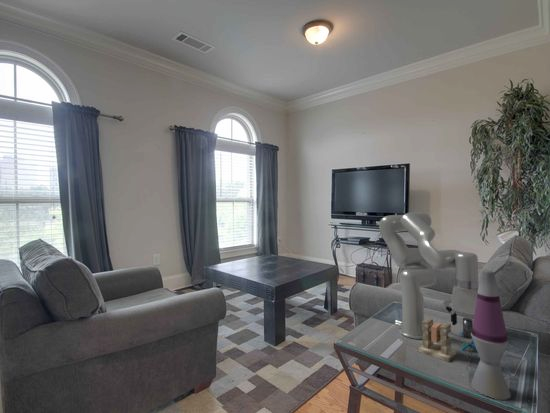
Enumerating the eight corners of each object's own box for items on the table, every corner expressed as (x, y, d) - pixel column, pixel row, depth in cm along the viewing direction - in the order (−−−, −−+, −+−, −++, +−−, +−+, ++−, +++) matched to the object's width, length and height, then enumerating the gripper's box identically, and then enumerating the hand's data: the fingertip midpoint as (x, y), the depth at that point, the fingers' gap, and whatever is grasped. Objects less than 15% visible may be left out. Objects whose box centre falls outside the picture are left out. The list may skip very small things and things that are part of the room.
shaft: (421, 331, 126) (421, 309, 126) (424, 328, 128) (424, 307, 128) (471, 345, 112) (471, 321, 112) (474, 343, 114) (473, 319, 114)
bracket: (417, 351, 124) (416, 322, 124) (426, 343, 131) (426, 315, 131) (448, 362, 115) (447, 330, 115) (457, 353, 122) (456, 323, 122)
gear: (486, 355, 117) (464, 333, 121) (474, 363, 118) (453, 342, 122) (481, 346, 127) (461, 327, 131) (470, 355, 128) (450, 335, 132)
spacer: (431, 341, 122) (431, 326, 122) (437, 336, 126) (436, 322, 126) (436, 343, 120) (436, 327, 120) (442, 338, 124) (441, 323, 124)
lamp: (516, 392, 96) (513, 271, 96) (502, 404, 90) (499, 276, 90) (479, 376, 105) (477, 266, 105) (465, 386, 99) (462, 270, 100)
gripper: (439, 282, 118) (441, 324, 118) (491, 290, 106) (492, 337, 105) (446, 279, 123) (447, 319, 123) (496, 286, 110) (497, 331, 110)
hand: (468, 327), depth 114 cm, fingers open, 9 cm apart
